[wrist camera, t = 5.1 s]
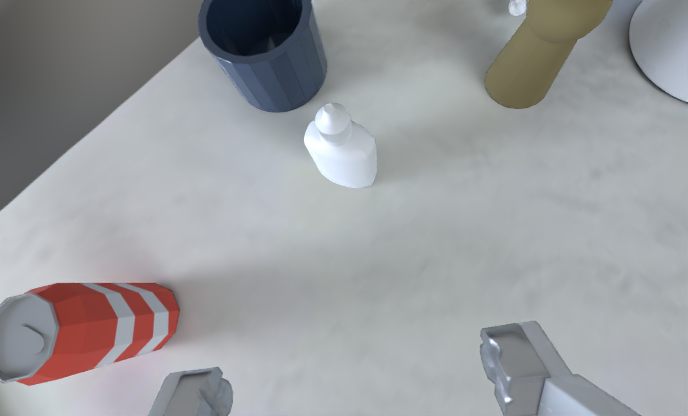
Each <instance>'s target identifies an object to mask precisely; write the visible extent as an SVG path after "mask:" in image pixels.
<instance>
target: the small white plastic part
mask: <svg viewBox="0 0 688 416" xmlns="http://www.w3.org/2000/svg"><path fill="white" fill-rule="evenodd" d="M528 2H529V0H510V2H509V5H508V7H509V12H510V14H512V15H514V16H519V15H521V14H523V13H524V12H525V11H527V7H528Z"/></svg>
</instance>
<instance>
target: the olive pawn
mask: <svg viewBox="0 0 688 416" xmlns="http://www.w3.org/2000/svg"><path fill="white" fill-rule="evenodd" d="M612 1H613V0H529V2H528V7H527V13H526V16H527V17H526V19H525V20H524V21H523V23H522V24H521V26H520V27H519V28H518V30H517V31H516V32H515V34H514V35H513V36H512V38H511V39H510V40H509V42H508V43H507V44H506V46H505V47H504V49H503V50H502V51H501V53H500V54H499V55H498V57H497V58H496V59H495V61H494V62H493V63H492V65H491V66H490V68H489V70H488V71H487V73H486V78H485V84H486V89H487V91H488V93H489V94H490V96H491V97H492V98H493V99H494V100H495V101H496V102H497V103H499V104H501V105H503V106H505V107H509V108H515V109H521V108H528V107H530V106H533V105H535V104H537V103H538V102H539V101H541V100H542V99H543V98H544V96H545V95H546V93H547V91H548V90H549V88H550V86H551V84H552V83H553V81H554V79H555V78H556V76H557V74H558V72H559V71H560V69H561V67H562V66H563V64H564V62H565V60H566V59H567V57H568V55H569V54H570V52H571V50H572V48H573V47H574V45H575V43H576V42H577V40H578V39H580V38H582V37H584V36H586V35H587V34H588V33H590V32H591V31H592V30H593V29H594V28H596V27H597V26H598V25H599V24H600V23H601V22H602V20H603V19H604V18H605V16H606V14H607V12H608V11H609V9H610V7H611V5H612Z"/></svg>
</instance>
